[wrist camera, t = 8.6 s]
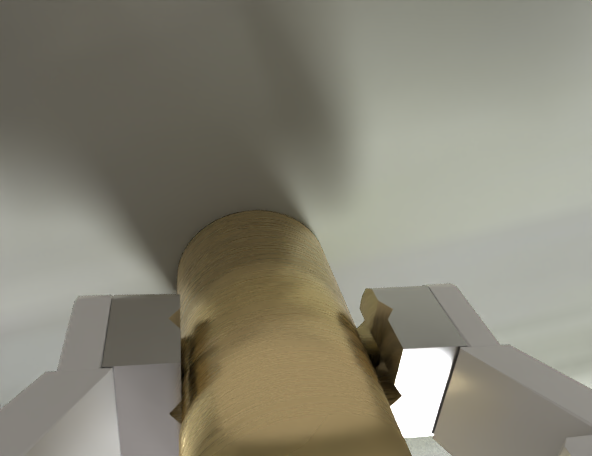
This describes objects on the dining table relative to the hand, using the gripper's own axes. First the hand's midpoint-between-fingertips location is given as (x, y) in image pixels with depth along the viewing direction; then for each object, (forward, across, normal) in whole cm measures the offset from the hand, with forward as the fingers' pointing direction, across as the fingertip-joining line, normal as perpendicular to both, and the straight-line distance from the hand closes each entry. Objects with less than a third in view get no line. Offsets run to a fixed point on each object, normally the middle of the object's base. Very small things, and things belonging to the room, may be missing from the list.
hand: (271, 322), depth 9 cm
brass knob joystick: (+2, +1, +7) cm, 7 cm away
